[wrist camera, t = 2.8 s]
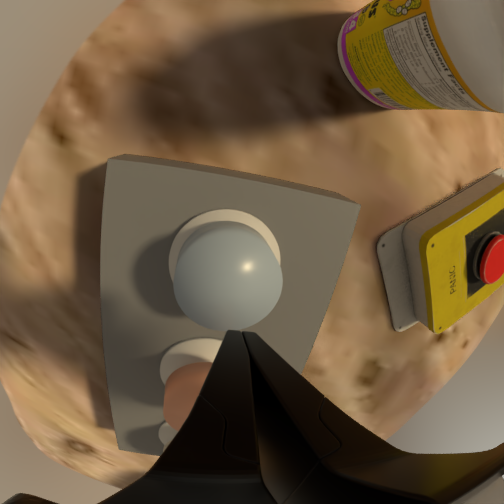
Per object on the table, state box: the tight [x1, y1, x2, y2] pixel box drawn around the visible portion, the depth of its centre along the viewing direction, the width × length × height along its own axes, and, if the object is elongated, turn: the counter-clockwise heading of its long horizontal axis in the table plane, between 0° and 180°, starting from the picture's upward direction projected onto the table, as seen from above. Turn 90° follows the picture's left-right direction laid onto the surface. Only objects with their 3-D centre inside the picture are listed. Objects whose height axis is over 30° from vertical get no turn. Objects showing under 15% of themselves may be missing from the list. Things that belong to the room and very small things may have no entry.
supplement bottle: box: [337, 0, 504, 113], centre depth 8 cm, size 7×7×13 cm
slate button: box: [173, 221, 283, 331], centre depth 13 cm, size 4×4×2 cm
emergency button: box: [377, 168, 504, 334], centre depth 19 cm, size 9×4×15 cm
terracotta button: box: [163, 362, 212, 431], centre depth 14 cm, size 4×4×2 cm
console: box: [100, 154, 361, 456], centre depth 18 cm, size 22×12×3 cm, turn 168°
